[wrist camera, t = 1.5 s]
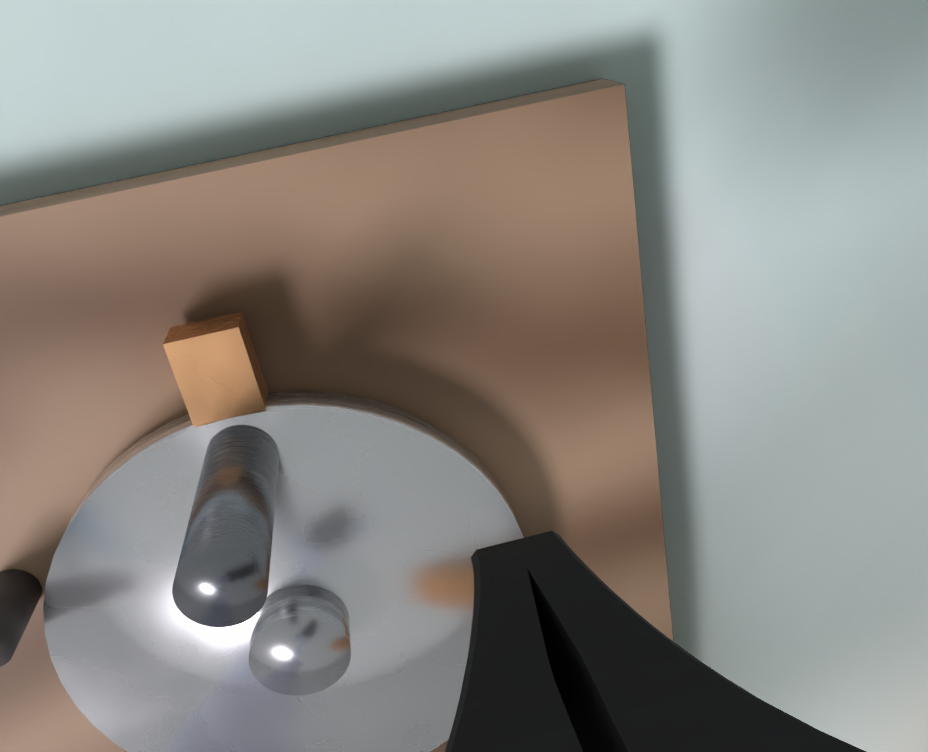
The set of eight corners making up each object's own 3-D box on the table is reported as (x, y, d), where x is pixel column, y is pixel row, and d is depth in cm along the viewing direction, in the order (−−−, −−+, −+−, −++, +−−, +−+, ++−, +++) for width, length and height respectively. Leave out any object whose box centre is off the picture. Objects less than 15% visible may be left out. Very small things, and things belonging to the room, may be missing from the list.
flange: (551, 701, 24) (613, 885, 19) (152, 806, 24) (106, 1028, 19) (471, 259, 18) (529, 358, 13) (-71, 381, 18) (-230, 536, 12)
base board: (667, 733, 29) (711, 827, 25) (93, 889, 27) (63, 1009, 24) (602, 79, 19) (661, 94, 16) (-288, 266, 18) (-424, 325, 14)
